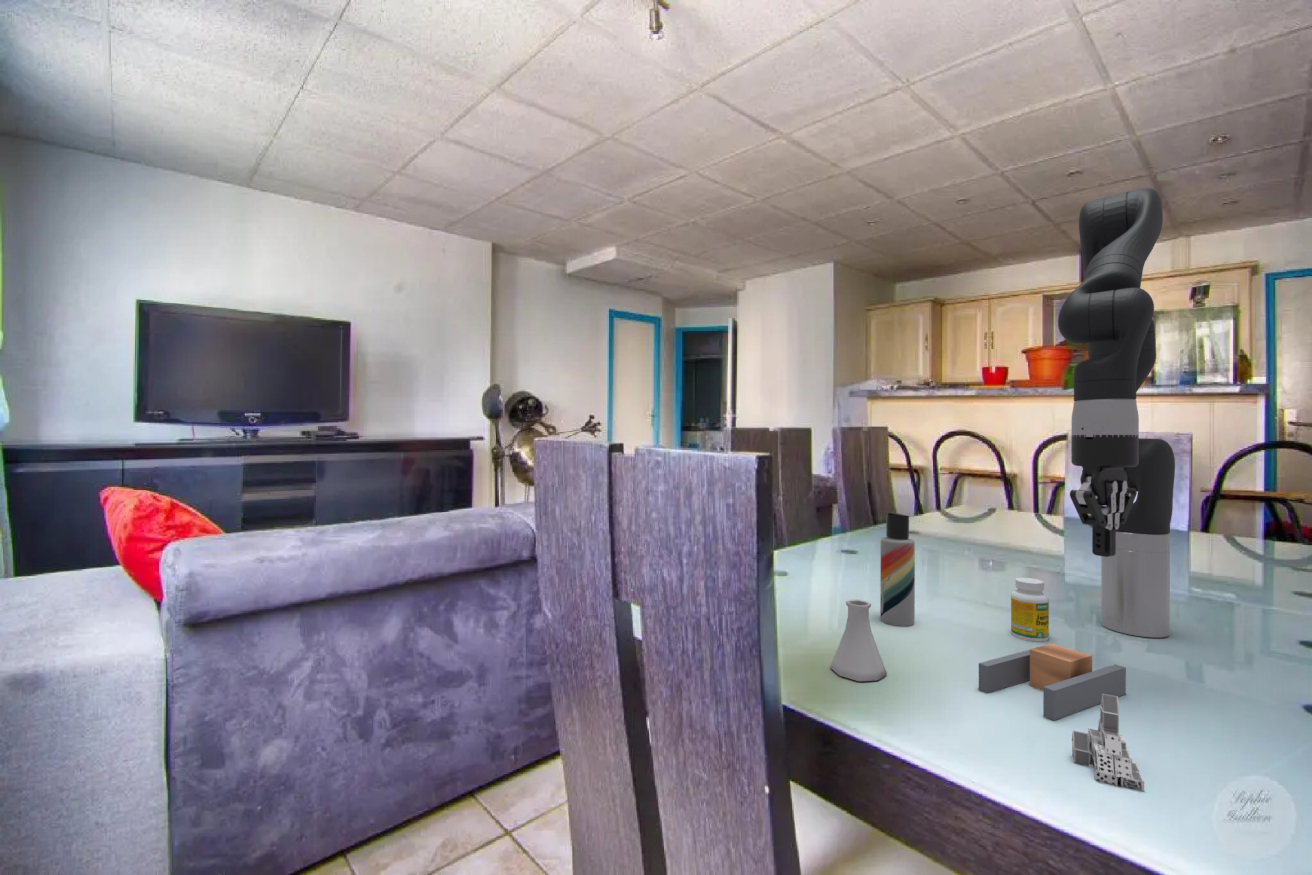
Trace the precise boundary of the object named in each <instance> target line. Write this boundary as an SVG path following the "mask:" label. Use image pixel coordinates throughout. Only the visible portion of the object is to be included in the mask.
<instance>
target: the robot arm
mask: <svg viewBox="0 0 1312 875" xmlns="http://www.w3.org/2000/svg"><path fill="white" fill-rule="evenodd" d="M1163 215H1164V213H1163V204H1162V199H1161V196H1160V194H1159V192H1158V191H1157V190H1155V189H1154V188H1152V187H1144V188H1143V187H1142V188H1136V189H1132V190H1128V191H1124V192H1120V193H1116V194H1113V195H1109V196H1105V197H1102V198H1098V199H1095V200H1092V201H1088V202H1086V203H1085V204H1084V205H1083V206H1082V207H1081V210H1080V211H1079V218H1078V230H1079V231H1078V232H1079V241H1080V242H1079V243H1080V249H1081V257H1082V265H1083V266H1082V267H1083V273H1084V277H1083V281H1082V282H1081V283H1080V284H1079V285H1078V286H1077V287H1076V288H1075V289H1074V290H1073V291H1072V292H1071V293H1070V294H1069V295H1068V296H1067V298H1066V299H1065V300H1064V302H1063V303H1062V306H1061V308H1060V310H1059V313H1058V316H1057V317H1058V318H1057V319H1058V320H1057V326H1058V329H1059V333H1060V334H1061V336H1062V338H1064V339H1065V340H1067V341H1068V342H1071V343H1072V344H1079V345H1080V344H1087V355H1088V357H1087V358H1088V359H1086V360H1082V361H1080V362H1078V363H1077V364H1076V365H1075V367H1074V370H1073V405H1072V406H1073V407H1072V413H1071V445H1070V446H1071V451H1070V452H1071V453H1070V455H1071V464H1072V465H1074V466H1077V467H1081V468H1082V471H1081V476H1080V487H1079V489H1078V490H1077V489H1071V490H1070V492H1069V497H1070V499H1071V502H1072V505H1073V507H1074V508H1075V510H1076V511H1075V512H1076V513H1077V514H1078V517H1079V519H1080V522H1081V523H1082V525H1087V526H1088V527H1089V528H1090V529H1091V530H1092V531H1091V532H1092V535H1091V536H1092V543H1091V544H1092V546H1091V548H1092V554H1093V555H1095V556H1100V557H1101V559H1100V560H1101V561H1100V563H1101V564H1100V565H1101V566H1100V569H1101V570H1100V575H1101V577H1100V578H1101V579H1100V589H1101V590H1100V592H1101V593H1100V595H1101V596H1100V598H1101V599H1100V600H1101V601H1100V621H1101V622H1100V624H1101V625H1102V626H1103V627H1104V628H1106V629H1109V630H1111V631H1114V632H1118V633H1121V634H1125V635H1130V636H1136V637H1144V638H1154V639H1155V638H1158V639H1159V638H1167V637H1169V636H1171V635H1170V630H1171V629H1170V628H1171V627H1170V626H1171V625H1170V619H1171V616H1170V615H1171V612H1170V611H1171V534H1170V533H1171V521H1172V517H1173V510H1174V509H1173V508H1174V507H1173V506H1174V505H1173V504H1174V500H1173V499H1174V488H1175V477H1176V474H1175V473H1176V460H1175V459H1176V458H1175V454H1174V449H1173V448H1172V447H1171V446H1172V445H1170V444H1169V442H1168V441H1166V440H1164V439H1161V438H1139V437H1140V436H1139V433H1140V431H1139V430H1140V428H1139V426H1140V425H1139V424H1140V421H1139V420H1140V418H1139V411H1138V404H1137V392H1138V390H1140V388H1141V387H1142V385H1143V384H1144V382H1145V381H1146V379H1147V378H1148V376H1149V375H1150V373H1151V371H1152V370H1153V368H1154V366H1155V364H1156V359H1157V344H1156V342H1157V341H1156V329H1155V328H1156V327H1155V326H1156V325H1155V321H1154V320H1153V317H1154V312H1155V304H1154V303H1155V302H1154V300H1153V298H1152V296H1151V295H1150V294H1149V293H1148V292H1147V291H1146V290H1145V289H1142V288H1141V285H1142V278H1143V273H1144V268H1145V267H1144V266H1145V263H1146V261H1147V259H1148V257H1149V256H1150V254H1151V253H1152V251H1153V249H1154V247H1155V245H1156V243H1157V241H1158V240H1159V238H1160V235H1161V231H1162V229H1163V228H1162V227H1163V220H1164V217H1163Z"/></svg>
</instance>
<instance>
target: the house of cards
mask: <svg viewBox="0 0 1312 875" xmlns="http://www.w3.org/2000/svg"><path fill="white" fill-rule="evenodd" d="M1099 708H1100V709H1099V711H1100V712H1099V720H1098V726H1097V729H1095V728H1094V729H1093V728H1087V731H1088V732H1083V731H1079V730H1073V729H1071V730H1072V731H1071V732H1072V735H1071V745H1072V746H1071V749H1072V750H1071V753H1072V754H1071V757H1073V759H1074V760H1073V762H1074V764H1079V765H1084V766H1088V767H1090V766H1091V765H1090V764H1093V770H1094V771H1093V772H1094V780H1095V781H1099V782H1102V783H1105V784H1111V785H1115V786H1118V783H1119V786H1120V787H1125V788H1128V789H1129V788H1130V789H1135V790H1138V791H1143V792H1145V780H1143V777H1142V775H1141V774H1140V769H1139V768H1138V765H1137V763H1136V762H1134V761H1133V759H1132V757H1131V752H1130V749H1129V747H1128V746H1127V742H1126V739H1125V738H1124V735H1123V734H1122V733H1121V734H1120V730H1119V729H1120V728H1119V726H1120V725H1119V723H1120V705H1119V697H1118V696H1113V695H1107V694H1102V701H1101V704H1099ZM1119 786H1118V787H1119Z"/></svg>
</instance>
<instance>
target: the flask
mask: <svg viewBox="0 0 1312 875" xmlns="http://www.w3.org/2000/svg"><path fill="white" fill-rule="evenodd" d="M845 605H846V606H847V619H846V624H845V628H844V631H843V634H842V637H841V639H840V642H839V643H838V647H837V649H836V651H835V654H834V656H833V659H832V662H831V664H830V666H829V668H830V669H831V670H833V671H834V672H835V673H836V674H837V675H839V677H844V678H846V679H849V680H853V681H856V682H869V681H870V682H871V681H880V680H881V679H882V678H883V677H885V676H887V675H888V672H887V670H886V667H885V664H884V662H883V659H882V656H881V654H880V652H879V649H878V647H877V646H878V645H877V643H876V640H875V637H874V634H873V632H872V627H871V623H870V612H869V610H870V608H871V607H872V603H871V602H869V601H867V600H862V599H848V600H846V601H845Z"/></svg>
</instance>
